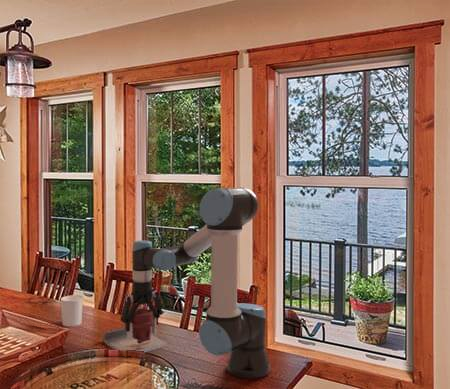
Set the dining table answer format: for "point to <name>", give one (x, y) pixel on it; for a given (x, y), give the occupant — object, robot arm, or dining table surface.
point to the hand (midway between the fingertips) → (142, 336)
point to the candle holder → (71, 310)
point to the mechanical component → (142, 324)
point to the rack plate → (130, 341)
